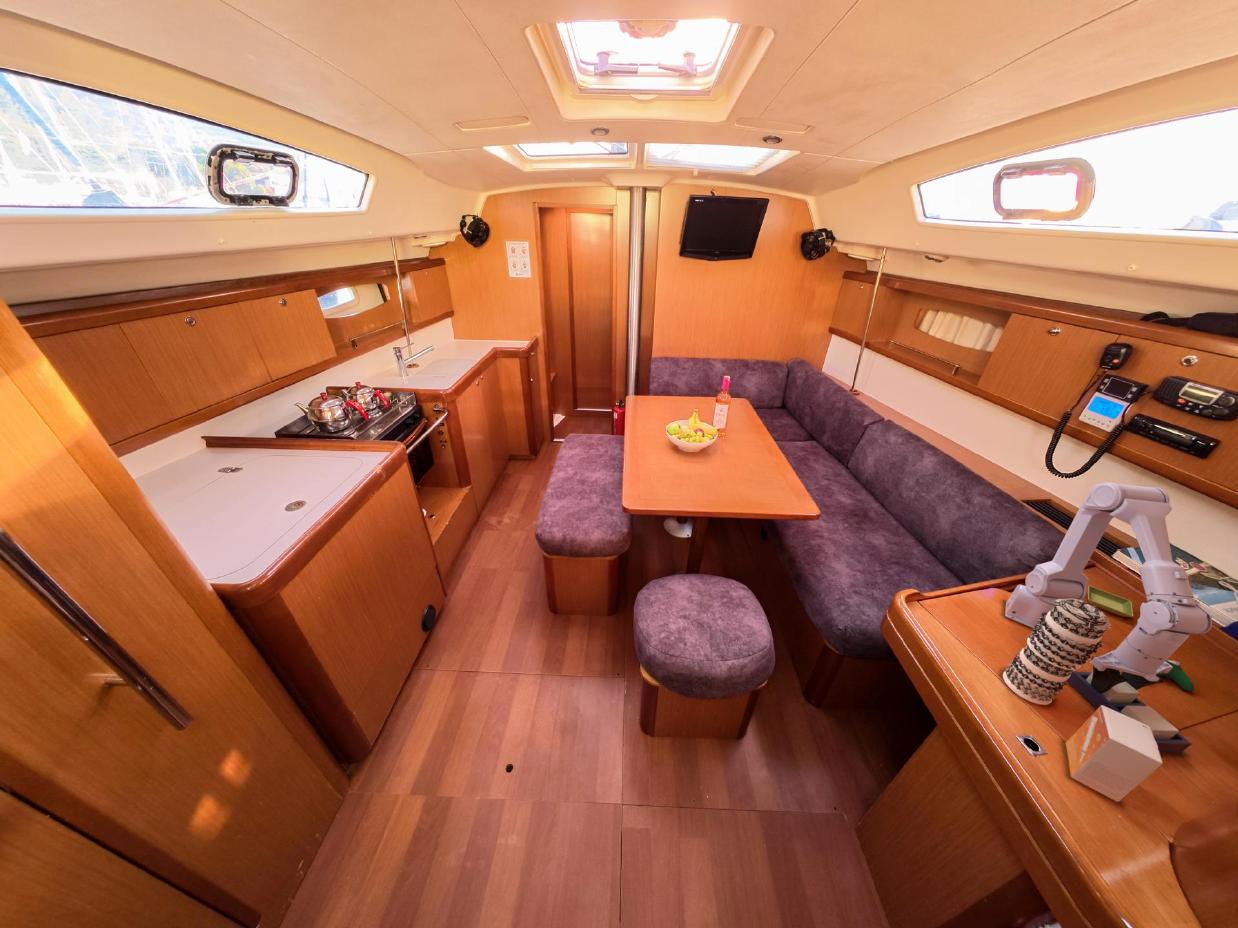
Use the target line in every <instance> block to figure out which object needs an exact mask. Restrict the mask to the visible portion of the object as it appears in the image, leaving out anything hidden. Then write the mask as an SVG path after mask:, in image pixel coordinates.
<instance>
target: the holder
mask: <svg viewBox="0 0 1238 928" xmlns="http://www.w3.org/2000/svg"><path fill="white" fill-rule="evenodd" d="M1092 672H1093V671H1072V673H1071V676H1070V677H1069V678H1068V682H1067V683H1069V685H1071V687H1073V689H1075V690H1076V691H1077V692H1078V693H1079V694H1080V695H1081V696H1082V697H1083V698H1084V699H1085V700H1086V701H1088V703H1090V704H1091V706H1093V707H1094V708H1095V709H1096V710H1097V709H1098V708H1099V707H1100V705H1103V706H1105V707H1107V708H1110V709H1112V710H1114V711H1116V712H1119V713H1121V711H1122V710H1123V709H1124V708H1125V707H1126V706H1148V705H1147V704H1146V703H1144V702H1143V701H1142V700H1141V699H1140V698H1138V696H1137V697H1136V698H1135V700H1134V701H1133V702H1132V703H1110V702H1109V701H1108V700H1107V699H1106V698H1105V697H1104V696H1103V695H1102V694H1100V693H1099V692H1098V691H1097V690H1096V689H1095V688H1094V687H1093V686H1092V685H1090V684H1089V683H1088V682H1087V681H1086V679H1087V678H1088V677H1089V675H1090V674H1091V673H1092ZM1121 714H1123V713H1121ZM1123 715H1124V714H1123ZM1155 741H1156V743H1157V746H1158V750H1159V753H1173V754H1177V753H1178V754H1183V752H1184V751H1186V750H1188V749H1189V747H1190V746H1192V745H1193V743H1191V742H1190V741H1189V740H1188V739H1187V738H1186V737H1185V736H1184V735H1182V734H1181V733H1180V732H1178V733H1177V734H1175V735H1174V736H1173V737H1172V738H1171V739H1155Z"/></svg>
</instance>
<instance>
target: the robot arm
mask: <svg viewBox="0 0 1238 928" xmlns="http://www.w3.org/2000/svg"><path fill="white" fill-rule="evenodd" d="M1170 502H1171V501H1170V496H1169V493H1168V492H1167V491H1166V490H1165V489H1163V488H1160V487H1157V486H1142V485H1134V484H1133V485H1132V484H1122V483H1115V482H1110V481H1106V482H1101V483H1097V484H1093V485H1092V486H1091V487H1090V490H1089V492H1088V493H1087V496H1086V498H1085V499H1084V500H1083V501H1082V502H1081V504H1080V506H1079V508H1078V511H1077V512H1076V514H1075V516H1074V518H1073V520H1072V522H1071V524H1070V526H1069V527H1068V529H1067V531H1066V533H1065V535H1064V537H1063V539H1062V541H1061V543H1060V545H1059V547H1058V549H1057V551H1056V553H1055V555H1054V556H1053V558H1052V560H1049V561H1046V562H1043V563H1039V564H1036V565H1035V566H1034V568H1033V570H1032V571H1030V572H1029V573H1028V574H1027V575H1026V577H1025V583H1024V584H1025V585H1023V584H1017V585H1016V587H1014V590H1012V593H1011V594H1010V596H1009V597H1008V599H1007V600H1006V602H1005V612H1004V615H1005V618H1007V619H1009V620H1013V621H1014V622H1017V623H1020V624H1022V625H1024V626H1027V627H1029V628H1031V629H1033V628H1035V627H1034V626H1035V625H1036V624H1038V623H1037V621H1038V620H1040V617H1041V616H1042V615H1041V614H1042V613H1048V612H1049V611H1051V610H1053V607H1054V606H1055V600H1057V599H1078V600H1082V601H1083V600H1084V599H1085V598H1086V595H1087V593H1088V584H1089V582H1090V579H1089V578H1088V576H1087V575H1085V573H1084V569H1085V568H1086V567H1087V565H1088V563H1089V561H1090V559H1091V557H1092V556H1093V553H1094V552H1095V550H1096V548H1097V546H1098V545H1099V543H1100V541H1101V539H1102V538H1103V536H1104V534H1105V533H1106V531H1107V529H1108V528H1109V527H1108V526H1109V525H1110V523H1111V521H1112V519H1114V518H1115V519H1116V520H1120V522H1121V521H1122V522H1124V523H1125V524H1127V525H1130V526H1131V529H1132V531H1133V533H1134V536H1135V538H1136V540H1137V543H1138V545H1139V548H1140V551H1141V553H1142V556H1143V558H1144V560H1145V561H1144V562H1143V563H1142V564H1141V565H1140V566H1139V567H1138V572H1139V574H1140V575H1139V576H1140V579H1141V582H1142V586H1143V589H1144V594H1145V596H1146V597H1145V598H1146V600H1147V602H1142V603H1141V605H1140V608H1139V612H1140V616H1139V618H1138V619H1137V620H1136V622H1137V623H1136V625H1135V627H1134V628H1133V629H1132V630H1131V631H1130V632H1129V634H1128V635H1127V636H1126V637H1125V638H1124V639H1123V640H1122V641H1121V643H1120V644H1119V645H1118V646H1117V647H1116V649H1113V650H1111V651H1108V652H1107V653H1105V654H1102V655H1100V656H1092V657H1091V658H1090V662H1089V663H1090V664H1091V666H1092V672H1093V676H1092V680H1091V685H1092V686H1093V687H1094V688H1095V689H1096V690H1097V691H1098V692H1099V693H1105V692H1107V691H1108V690H1110V689H1111V688H1112V687H1114V686H1115V685H1117V684H1120V683H1123V682H1127V683H1128V684H1130V685H1131V686H1132V687H1133V688H1134V689H1136V690H1137V691H1138V690H1140V689H1142V688H1145V687H1147V686H1152V685H1157V684H1163V683H1164V682H1165V679H1164V678H1163V676H1162V675H1158V673H1160V672H1163V673H1168V672H1169V671H1170V670H1171V669H1172V668H1173V667H1172V666H1171V665H1170V664H1168V663H1167V662H1166V661H1167V660H1169V658H1170V657H1171V656H1173V654H1174V653H1175V652H1177V650H1178V649H1179V648H1180V647H1181V646H1182V645H1183V644H1184V642H1185V641H1186V640H1187V639H1188V638H1189V637H1190V636H1191V634H1192V635H1205V634H1206V633H1208V632H1209V631H1211V629H1212V627H1213V620H1212V619H1213V618H1212V617H1213V616H1212V615H1211V613H1210V611H1208V610H1207V609H1206V608H1205V607H1203V605H1201V603H1200V601H1198V600H1197V599H1195V597H1194V593H1193V591H1192V587H1191V585H1190V581H1189V575H1188V573H1187V571H1186V569H1185V568H1184V567H1183V566H1181V565H1179V564H1178V563H1176V562H1174V560H1173V554H1172V548H1171V544H1170V543H1171V542H1170V537H1169V532H1168V527H1167V526H1168V525H1167V521H1166V517H1167V516H1168V515H1169V514H1170V513H1171V512H1172V510H1173V507H1172V505H1171V504H1170ZM1045 618H1046V616H1045Z"/></svg>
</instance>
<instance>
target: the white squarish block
mask: <svg viewBox="0 0 1238 928" xmlns="http://www.w3.org/2000/svg"><path fill="white" fill-rule="evenodd" d="M1091 672H1092V673H1091V674H1090V675H1089V677H1088V678H1087V679H1086V681H1087V682H1088V683H1089V684H1090V685H1091V680H1092V676H1093V671H1091ZM1100 694H1102V695H1103V696H1104V697H1105V698H1106V699H1107V700H1108V701H1109V702H1110V703H1132V702H1133V701H1134V700H1135V698H1136V697H1137V698H1138V697H1139V696H1140V695H1141V693H1140V692H1139V691H1138V690H1136V689H1134V688H1133V687H1132V686H1131V685H1130V684H1128V683H1127V682H1123V683H1120V684H1117V685H1115V686H1114V687H1112V688H1111V689H1110V690H1108V691H1107V692H1105V693H1100Z"/></svg>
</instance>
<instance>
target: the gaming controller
mask: <svg viewBox="0 0 1238 928" xmlns="http://www.w3.org/2000/svg"><path fill="white" fill-rule="evenodd" d="M1166 662H1167V663H1168V664H1170V665H1171V666H1172V667H1173V668H1172V669H1171V670H1170V671H1169V672H1168V673H1163V672H1160V673H1158V675H1160V676H1161V677H1166V678H1171V679H1172V680H1174V682H1175V683H1176V684H1178V686H1180V688H1182V689H1183V690H1185V691H1190V692H1193V691H1194V690H1195V685H1194V682H1193V681H1192V680H1191V678H1190V677H1189V675H1188V674H1187V673H1186V672H1185V670H1184V669H1183V668H1182V666H1181V665H1180V664H1181V662H1179V661H1176V660H1170V659H1167V660H1166Z"/></svg>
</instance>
